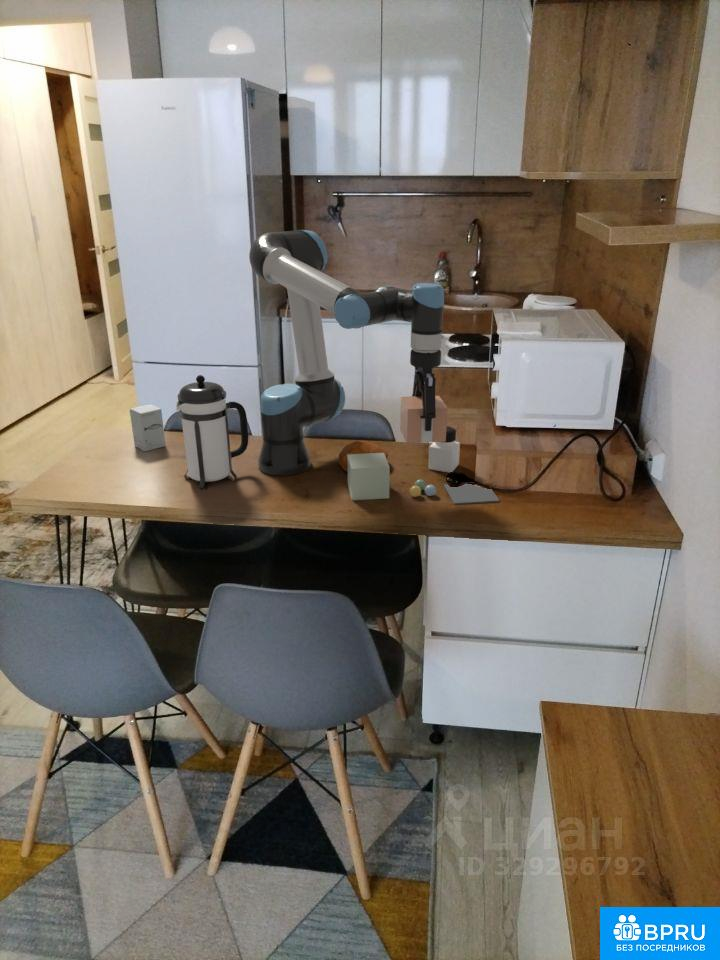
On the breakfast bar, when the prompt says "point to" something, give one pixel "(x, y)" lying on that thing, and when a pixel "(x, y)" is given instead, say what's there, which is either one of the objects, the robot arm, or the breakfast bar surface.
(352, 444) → the croissant
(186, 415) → the coffee press
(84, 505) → the breakfast bar surface
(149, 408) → the supplement box
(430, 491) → the marble blue
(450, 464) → the medicine bottle
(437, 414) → the peach wooden cube
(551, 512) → the breakfast bar surface
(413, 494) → the marble amber
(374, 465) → the pale mint cube
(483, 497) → the coaster
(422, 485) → the marble green
